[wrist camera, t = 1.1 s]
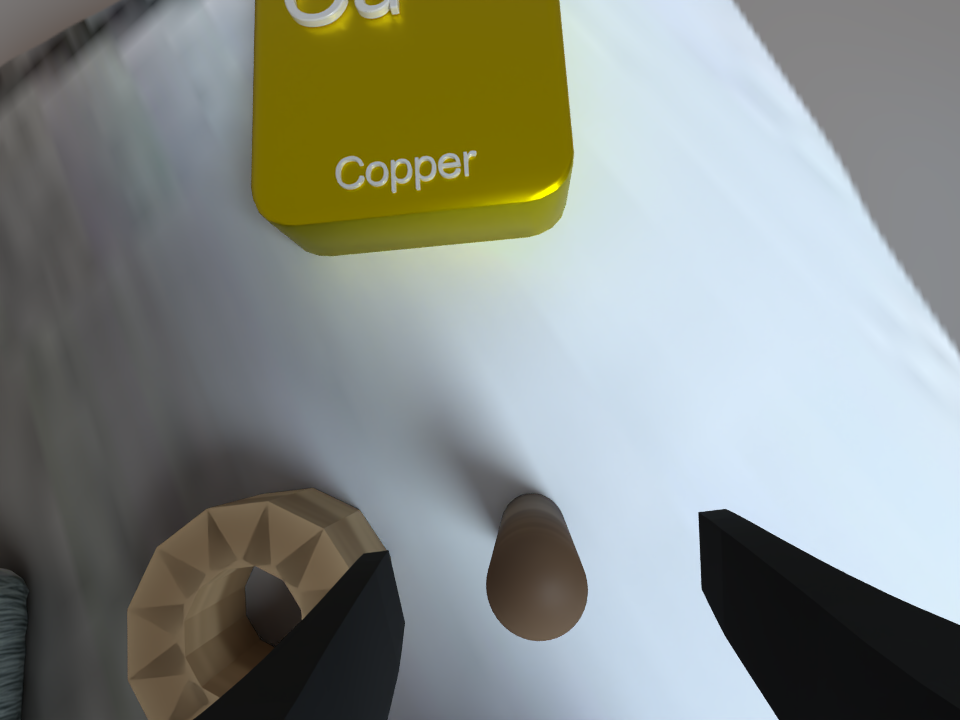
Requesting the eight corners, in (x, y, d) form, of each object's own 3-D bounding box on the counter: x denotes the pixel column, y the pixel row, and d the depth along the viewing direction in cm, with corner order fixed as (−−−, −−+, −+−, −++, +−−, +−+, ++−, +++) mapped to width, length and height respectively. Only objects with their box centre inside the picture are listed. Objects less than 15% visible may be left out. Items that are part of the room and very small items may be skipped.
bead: (403, 700, 21) (374, 765, 17) (201, 716, 22) (128, 781, 18) (383, 479, 22) (352, 490, 18) (195, 502, 23) (126, 518, 19)
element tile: (294, 262, 25) (240, 224, 20) (295, 24, 27) (246, -61, 22) (569, 236, 23) (580, 188, 19) (547, -13, 26) (551, -112, 21)
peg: (569, 556, 21) (595, 636, 13) (505, 562, 21) (493, 644, 13) (559, 490, 21) (579, 529, 13) (497, 497, 22) (480, 539, 14)
